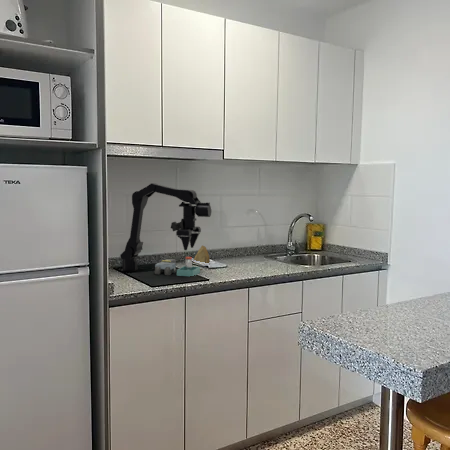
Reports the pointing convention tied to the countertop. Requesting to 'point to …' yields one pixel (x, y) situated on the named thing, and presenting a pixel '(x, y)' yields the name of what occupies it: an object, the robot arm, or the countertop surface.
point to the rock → (202, 255)
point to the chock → (169, 260)
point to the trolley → (165, 268)
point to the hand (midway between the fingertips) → (188, 248)
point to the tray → (188, 271)
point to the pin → (189, 263)
